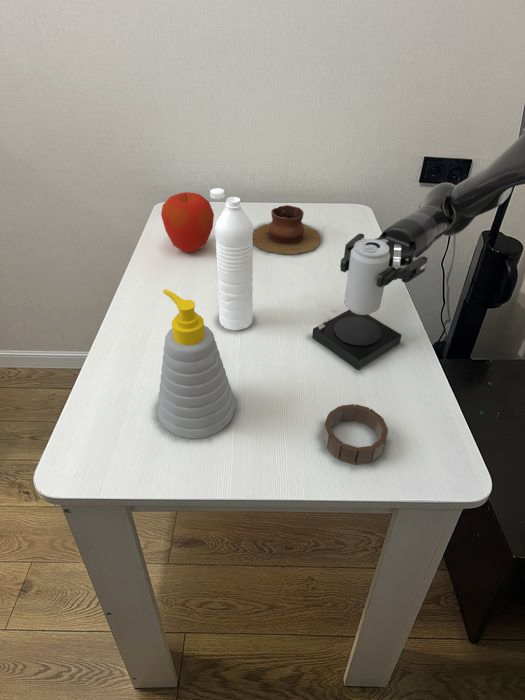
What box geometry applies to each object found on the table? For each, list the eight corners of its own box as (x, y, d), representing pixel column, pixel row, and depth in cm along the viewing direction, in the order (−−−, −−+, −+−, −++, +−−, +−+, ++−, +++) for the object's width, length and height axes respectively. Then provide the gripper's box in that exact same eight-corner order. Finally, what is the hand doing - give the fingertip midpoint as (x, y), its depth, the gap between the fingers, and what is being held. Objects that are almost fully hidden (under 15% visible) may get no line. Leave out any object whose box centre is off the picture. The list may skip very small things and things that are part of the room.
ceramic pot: (261, 218, 132) (262, 192, 127) (326, 227, 128) (329, 201, 124) (241, 249, 118) (241, 222, 114) (313, 260, 115) (316, 232, 110)
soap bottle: (204, 371, 85) (195, 269, 72) (251, 411, 78) (251, 306, 65) (142, 406, 78) (120, 301, 65) (188, 453, 71) (173, 346, 58)
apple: (208, 263, 113) (204, 205, 104) (158, 259, 114) (150, 201, 105) (220, 239, 122) (218, 183, 113) (174, 234, 124) (168, 179, 115)
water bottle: (259, 322, 96) (261, 199, 80) (233, 335, 93) (230, 210, 77) (231, 302, 101) (227, 184, 85) (205, 315, 98) (197, 193, 82)
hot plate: (399, 344, 92) (402, 331, 90) (357, 370, 86) (360, 357, 84) (353, 315, 98) (355, 303, 96) (311, 337, 93) (313, 325, 91)
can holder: (396, 443, 73) (400, 430, 72) (355, 474, 69) (358, 461, 67) (351, 409, 79) (354, 395, 77) (311, 436, 74) (313, 423, 72)
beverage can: (383, 301, 88) (395, 241, 81) (374, 321, 84) (386, 259, 76) (349, 293, 90) (358, 233, 83) (338, 311, 86) (346, 250, 78)
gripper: (378, 207, 91) (326, 240, 82) (451, 231, 84) (404, 269, 75) (372, 244, 96) (322, 278, 87) (440, 269, 89) (395, 309, 80)
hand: (360, 274), depth 81 cm, fingers closed on beverage can, 6 cm apart
